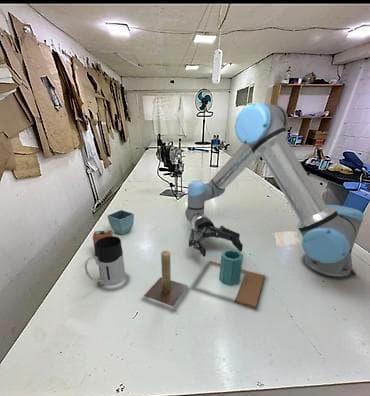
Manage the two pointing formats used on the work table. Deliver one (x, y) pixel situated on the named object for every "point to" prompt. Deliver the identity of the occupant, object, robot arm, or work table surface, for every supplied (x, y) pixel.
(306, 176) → the robot arm
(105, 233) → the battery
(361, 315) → the work table surface
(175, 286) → the peg stand
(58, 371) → the work table surface
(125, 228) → the flower pot
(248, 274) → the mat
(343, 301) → the work table surface
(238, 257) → the sleeve
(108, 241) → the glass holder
